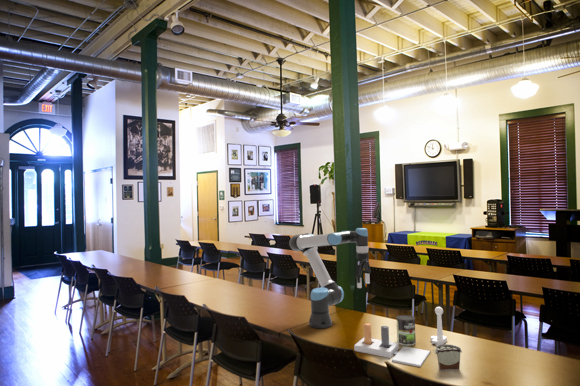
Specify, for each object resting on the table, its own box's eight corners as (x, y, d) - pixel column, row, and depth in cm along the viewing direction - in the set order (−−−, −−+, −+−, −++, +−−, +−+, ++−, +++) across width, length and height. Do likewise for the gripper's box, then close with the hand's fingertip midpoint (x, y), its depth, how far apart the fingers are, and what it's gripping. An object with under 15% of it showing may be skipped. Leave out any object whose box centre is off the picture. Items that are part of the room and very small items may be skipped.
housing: (354, 350, 210) (354, 345, 210) (364, 342, 222) (364, 337, 222) (390, 357, 199) (390, 352, 199) (398, 348, 211) (398, 343, 211)
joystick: (439, 346, 213) (437, 309, 213) (426, 342, 218) (425, 307, 219) (448, 340, 220) (447, 305, 220) (436, 337, 226) (434, 303, 226)
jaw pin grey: (380, 352, 207) (379, 327, 207) (383, 349, 211) (382, 325, 211) (388, 353, 205) (387, 328, 205) (390, 350, 208) (389, 326, 209)
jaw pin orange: (363, 348, 212) (362, 325, 213) (366, 346, 216) (365, 322, 216) (370, 350, 210) (369, 326, 211) (372, 347, 214) (372, 323, 214)
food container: (456, 364, 190) (455, 343, 190) (462, 369, 183) (461, 348, 184) (431, 365, 189) (430, 344, 189) (436, 370, 183) (436, 349, 183)
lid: (388, 360, 196) (387, 358, 196) (399, 347, 213) (399, 345, 213) (420, 367, 187) (420, 365, 187) (430, 352, 204) (430, 350, 204)
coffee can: (419, 344, 216) (418, 319, 216) (403, 346, 213) (402, 321, 214) (409, 338, 226) (408, 314, 226) (393, 340, 223) (392, 316, 224)
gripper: (360, 255, 235) (361, 290, 235) (375, 250, 256) (376, 282, 256) (349, 254, 239) (350, 289, 239) (364, 249, 260) (365, 281, 260)
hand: (363, 285), depth 247 cm, fingers open, 13 cm apart
